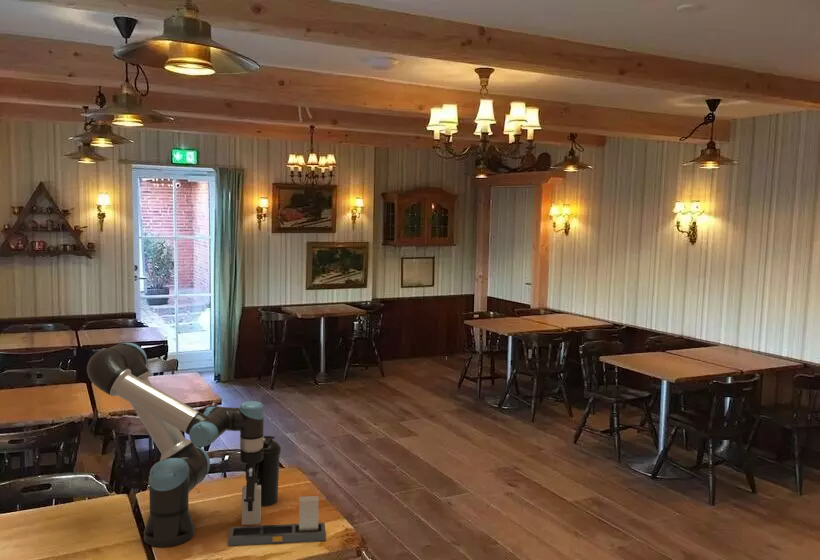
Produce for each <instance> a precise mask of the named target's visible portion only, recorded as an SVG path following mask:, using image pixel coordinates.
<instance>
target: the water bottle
mask: <svg viewBox="0 0 820 560" xmlns="http://www.w3.org/2000/svg"><path fill="white" fill-rule="evenodd" d="M263 438H265V441H263V460H262V461H261V462H257V464H258V472H257V479H259V482H255V483H257V485H261V507H269V506H273V505H275V504H277V503H276V502H278V500H279V477H280V476H279V473H280V456H281V455H280V454H281V451H282V450H281V446H280V444H279V443H278V442H277V441H275V440H274V439H275V438H276V436H272V435H263Z"/></svg>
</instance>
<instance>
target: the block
mask: <svg viewBox="0 0 820 560" xmlns="http://www.w3.org/2000/svg"><path fill="white" fill-rule="evenodd" d="M241 488H242V489H241V526H251V525H261V520H262V519H261V518H262V506H261V485H255V492H254V498H255V520H246V502H244V499H246V485H242V487H241ZM248 498H250V497H248Z"/></svg>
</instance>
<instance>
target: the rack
mask: <svg viewBox="0 0 820 560" xmlns="http://www.w3.org/2000/svg"><path fill="white" fill-rule="evenodd" d="M319 501H320V500H319V495H314V496H313V495H311V496H299V505H298V508H299V511H298V512H299V514H298V516H299V517H298V523H288V524H286V523H285V524H265V525H261V524H260V525H241V526H230V528H229V532H228V537H227V538H228V539H227V540H228V541H227V545H228V547H236V546H253V545H255V546H257V545H274V544H291V543H314V542H326V537H327V535H326V533H327V532H326V523H325V521H324V522H319V504H320V503H319Z"/></svg>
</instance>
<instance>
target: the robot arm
mask: <svg viewBox="0 0 820 560" xmlns="http://www.w3.org/2000/svg"><path fill="white" fill-rule="evenodd" d="M147 361H148V357H147V354H146V351H145V350H144V349H143V348H142V347H141V346H139V345H138V344H136V343H132V342H124V343H123V342H122V343H117V344H115V345H112V346H110V347H107V348H105V349H101V350H99V351H97V352H96V353H94V354H92V356H91V357H90V358H89V360H88V362H87V366H86V373H87V376H88V378H89V380H90V381H91V383H92V384H93V385H94V386H95V387H97V389H99V390H101V391H102V392H104V393H105V394H107V395H109V396H111V397H117V396H118V397H120V398H122V399H123V400H125V401H127V402H129V403H130V405H131V407H132V408H133V410H134V412H135V413H136V415H137V417H138V418H139V420H140V421H141V422H142V424H143V426H144V428H145V429H146V431H147V432H148V434H149V436H150V438H151V439H152V440H153V442H154V444H155V445H156V447H157V449H158V450H159V452H160V453H161V455H160V459H159V461H158V462H156V463H155V464H153V466H151V468H150V471H149V477H148V484H149V485H148V486H149V489H148V490H149V493H148V494H149V496H148V497H149V515H148V519H147V522H146V523H145V527H144V531H143V541H144V543H146V544H147V545H149V546H151V547H158V548H167V547H174V546H179V545H181V544H184V543H186V542H188V541H189V540H191V539H192V538H193V537H194V535H195V524H194V521H193V519H192V516H191V513H190V510H189V503H190V502H189V494H190V493H191V492H192V490H193V489H194V488H196V487H197V485H198V484H200V483H202V481H204V479H205V477H206V476H207V475H208V474H209V471H210V467H211V459H210V457H209V455H208V452H207V451H206V450H205V449H204V448H205V447H207V446H209V445H211V444H213V443H214V442H215V441H216V440H217V439H218V438H220V436H222V435H223V434H224V433H225V432H226V431H227V432H230V431H232V432H239V433H240V434H239V449H240V451H239V452H240V453H239V456H240V457H239V460H240V462H241V463H243V464H245V471H244V472H245V480H246V485H245V486H246V499H244V502H246V520H255V498H254V492H255V485H257V483H255V482H259V479H257V472H258V464H257V462H261V461H262V460H263V441H265V438H263V436H264V422H265V421H264V418H265V413H264V404H263V403H262V402H260V401H255V400H252V401H251V400H250V401H248V400H247V401H243V402H241V404H240V405H239V406H240V407H231V406H230V407H228V406H220V405H219V406H218V405H217V406H207V407H206V408H205V410H204V412H203V413H202V412H200V411H199V410H198V409H197V410H196V409H194V408H193V407H191V406H190V405H187V404H186V403H184V402H183V401H180V400H178V399H177V398H175V397H173V396H171V395H169V394H167V393H166V392H164V391H162V390H161V389H159V388H157V387H155V386H153V385H152V383H151V381H150V380H149V376H150V370H149V369H148V367H147ZM182 432H184V433H185V434H187V435H188V437H189V439H186V438H185V437H184V435H183V433H182ZM203 447H204V448H203ZM248 497H250V498H248Z"/></svg>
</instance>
